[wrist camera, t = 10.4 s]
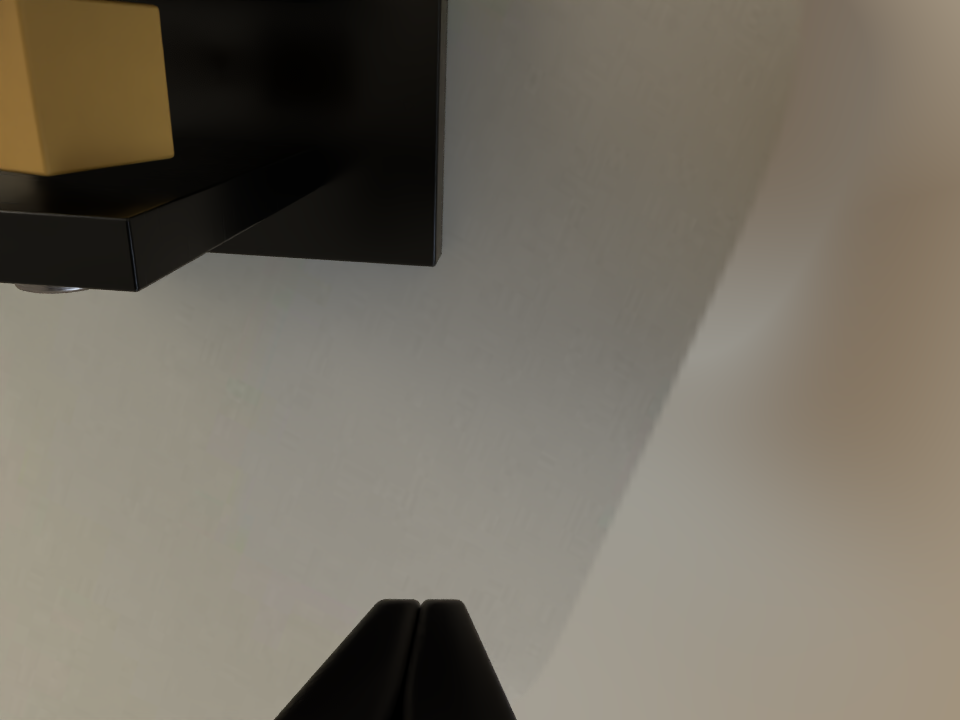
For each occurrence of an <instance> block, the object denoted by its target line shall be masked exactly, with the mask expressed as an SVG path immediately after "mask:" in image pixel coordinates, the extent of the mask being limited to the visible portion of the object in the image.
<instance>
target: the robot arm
mask: <svg viewBox="0 0 960 720" xmlns="http://www.w3.org/2000/svg"><path fill="white" fill-rule="evenodd" d="M274 720H516V717H515V715H514V713H513V711H512V709H511V706H510V704H509V702H508V700H507V697H506V695H505V693H504V691H503V689H502V686H501V684H500V682H499V680H498V678H497V675H496V673H495V671H494V669H493V666H492V664H491V662H490V660H489V658H488V655H487V653H486V651H485V649H484V647H483V644H482V642H481V640H480V638H479V635H478V633H477V631H476V629H475V627H474V624H473V622H472V620H471V618H470V616H469V613H468V611H467V609H466V607H465V605H464V604H463V602H462V601H460V600H457V599H428V600H425V601H424V602H423V603H422V605H420V603H419V602H418V601H417V600H414V599H384V600H381V601H379V602H377V603H376V604H375V605H374V607H373V608H372V609H371V610H370V611H369V612H368V613H367V615H366V616H365V617H364V618H363V619H362V620H361V621H360V622H359V624H358V625H357V626H356V627H355V628H354V629H353V630H352V632H351V633H350V634H349V635H348V636H347V637H346V638H345V640H344V641H343V642H342V643H341V644H340V645H339V646H338V647H337V649H336V650H335V651H334V652H333V653H332V654H331V655H330V657H329V658H328V659H327V660H326V661H325V662H324V663H323V665H322V666H321V667H320V668H319V669H318V670H317V671H316V672H315V674H314V675H313V676H312V677H311V678H310V679H309V680H308V682H307V683H306V684H305V685H304V686H303V687H302V688H301V690H300V691H299V692H298V693H297V694H296V695H295V696H294V697H293V699H292V700H291V701H290V702H289V703H288V704H287V705H286V707H285V708H284V709H283V710H282V711H281V712H280V713H279V715H278V716H277V717H276V718H275V719H274Z"/></svg>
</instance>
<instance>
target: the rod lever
mask: <svg viewBox="0 0 960 720" xmlns="http://www.w3.org/2000/svg"><path fill="white" fill-rule="evenodd" d="M172 157H174V145H173V136H172V127H171V117H170V108H169V98H168V89H167V80H166V70H165V61H164V51H163V42H162V33H161V23H160V14H159V9H158V7H157V6H155V5H153V4H146V3H136V2H126V1H117V0H0V171H6V172H14V173H22V174H30V175H39V176H47V177H50V176H56V175H63V174H70V173H77V172H83V171H90V170H97V169H104V168H110V167H117V166H124V165H130V164H137V163H144V162H151V161H157V160H164V159H170V158H172Z"/></svg>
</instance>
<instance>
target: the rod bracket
mask: <svg viewBox="0 0 960 720" xmlns="http://www.w3.org/2000/svg"><path fill="white" fill-rule="evenodd" d="M117 1H126V2H136V3H146V4H153V5H155V6H157V7H158V9H159V14H160V23H161V33H162V42H163V51H164V61H165V70H166V80H167V89H168V98H169V108H170V117H171V127H172V136H173V145H174V157H172V158H170V159H164V160H157V161H151V162H144V163H137V164H130V165H124V166H117V167H110V168H104V169H97V170H90V171H83V172H77V173H70V174H63V175H56V176H50V177H47V176H39V175H30V174H22V173H14V172H6V171H0V283H12V284H15V286H16V287H17V288H18V289H20V290H23V291H27V292H34V293H46V294H54V293H70V292H77V291H83V290H88V289H101V290H115V291H130V292H138V291H140V290H142V289H144V288H145V287H147V286H149V285H151V284H152V283H154V282H156V281H158V280H159V279H161V278H163V277H165V276H166V275H168V274H170V273H172V272H173V271H175V270H177V269H179V268H180V267H182V266H184V265H186V264H187V263H189V262H191V261H193V260H194V259H196V258H198V257H200V256H201V255H203V254H205V253H207V252H210V253H226V254H241V255H257V256H273V257H288V258H304V259H320V260H335V261H351V262H367V263H382V264H398V265H413V266H429V267H434V266H435V265H436V263H437V262H438V260H439V258H440V256H441V254H442V220H443V178H444V137H445V95H446V53H447V12H448V0H117Z"/></svg>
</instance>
